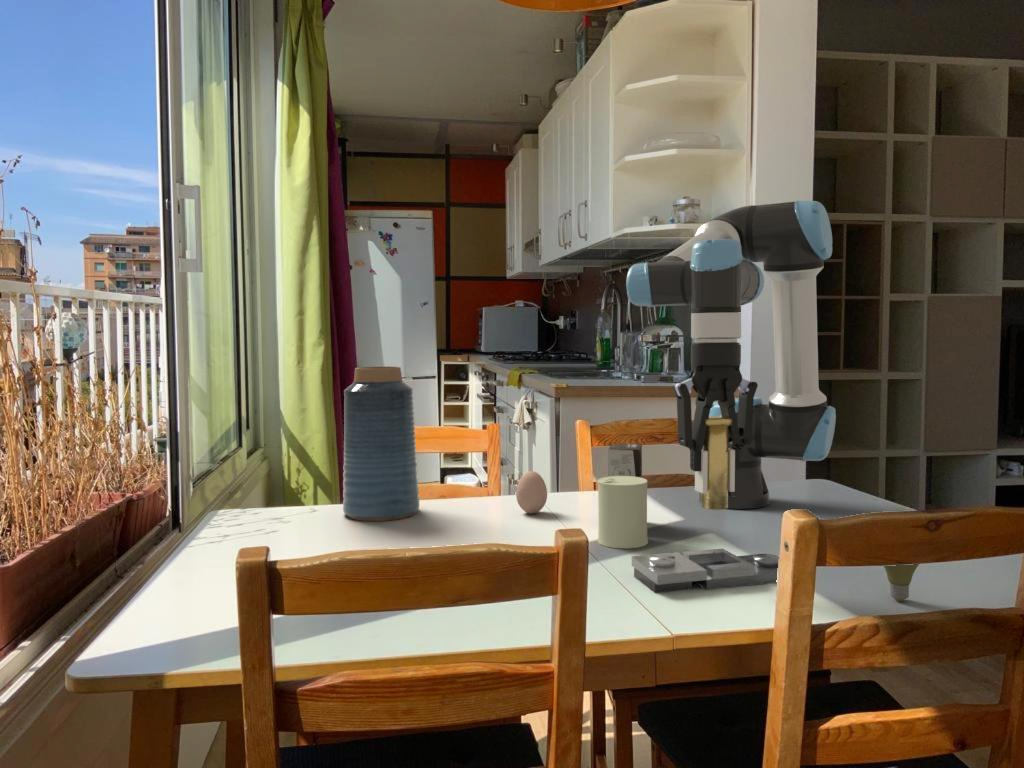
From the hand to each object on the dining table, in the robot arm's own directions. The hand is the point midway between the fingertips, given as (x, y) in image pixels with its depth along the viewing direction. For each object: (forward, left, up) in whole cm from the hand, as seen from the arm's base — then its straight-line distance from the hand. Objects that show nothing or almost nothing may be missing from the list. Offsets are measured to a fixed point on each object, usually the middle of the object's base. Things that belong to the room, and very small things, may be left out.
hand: (714, 490), depth 127 cm
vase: (+47, -61, -14) cm, 78 cm away
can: (+6, -24, -14) cm, 29 cm away
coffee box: (+1, -35, -14) cm, 38 cm away
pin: (0, 0, -3) cm, 3 cm away
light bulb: (-20, +17, -14) cm, 30 cm away
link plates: (0, 0, -14) cm, 14 cm away
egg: (+16, -51, -14) cm, 55 cm away
